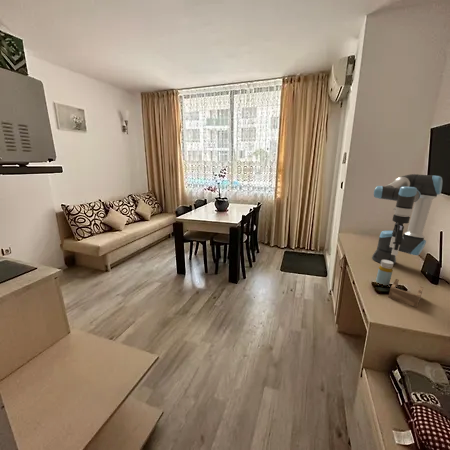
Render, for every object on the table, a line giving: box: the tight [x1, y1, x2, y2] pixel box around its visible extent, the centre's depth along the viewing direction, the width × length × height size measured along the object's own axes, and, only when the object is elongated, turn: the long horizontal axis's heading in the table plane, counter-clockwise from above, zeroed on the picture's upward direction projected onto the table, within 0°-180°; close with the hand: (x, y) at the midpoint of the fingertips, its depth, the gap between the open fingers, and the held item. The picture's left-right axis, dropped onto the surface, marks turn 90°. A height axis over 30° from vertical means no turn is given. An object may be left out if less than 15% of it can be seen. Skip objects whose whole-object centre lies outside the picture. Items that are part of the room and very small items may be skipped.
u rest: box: [388, 278, 424, 308], centre depth 135 cm, size 14×13×6 cm
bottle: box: [375, 260, 395, 286], centre depth 147 cm, size 7×7×15 cm
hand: (393, 251), depth 141 cm, fingers open, 13 cm apart
